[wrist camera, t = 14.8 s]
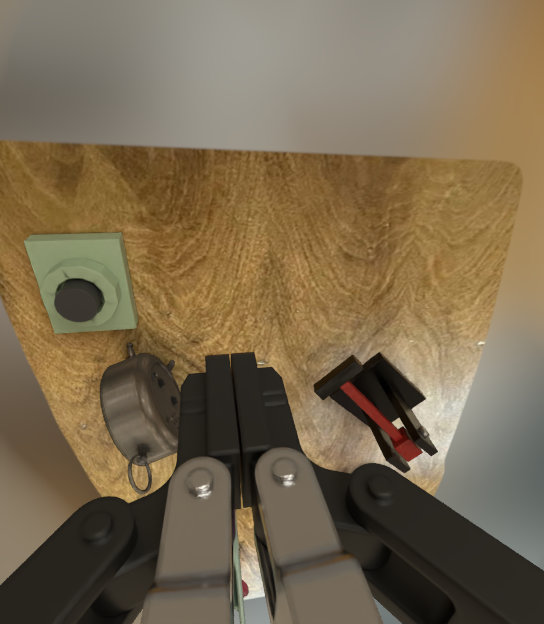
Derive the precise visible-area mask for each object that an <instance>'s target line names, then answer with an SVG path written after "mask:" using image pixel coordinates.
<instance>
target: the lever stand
mask: <svg viewBox="0 0 544 624" xmlns="http://www.w3.org/2000/svg"><path fill="white" fill-rule="evenodd" d="M362 366H363V369H364V370H362V371H361V372H360V373H358V374H357V375H356V376H354V377H353V378H352V379H351V380H349V381H350V382H351V383H352V384H353V385H354V386H355V387H356V388H357V389H358V390H359V391H360V392H361V393H362V394H363V395H364V396H365V397H366V398H367V399H368V400H369V401H370V402H371V403H372V404H373V405H374V406H375V407H376V408H377V409H378V410H379V411H380V412H381V413H382V414H383V415H384V416H385V417H386V418H387V419H388V420H389V421H390V422H391V423H392V422H393V421H395V420H396V419H397V418H400V419H401V421H402V423H403V424H404V426H405V428H406V430H407V431H408V433H409V435H410V436H411V438H412V440H413V442H414V443H415V444H417V445H418V446H419V447H420V448H422V449H423V450H424V451H425V452H427V453H428V454H429V455H430V456H432V455H434V454H436V453H437V452H438V451H437V449H436V448H435V446H434V445H433V443H432V442H431V440H430V438H429V437H428V436H429V433H428V432H427V430H426V429H425V428H424V427H423V426H421V424H420V423H419V421H418V419H417V418H416V416H415V415H414V413H413V411H412V410H411V409H412V408H413V407H415V406H416V405H418V404H419V403H421V402H422V401H424V400H425V399H426V398H425V396H424V395H423V393H422V392H421V391H420V390H419V389H418V388H417V387H415V386H414V385H413V384H412V383H411V382H410V381H409V380H408V379H407V378H406V377H405V376H404V375H403V374H402V373H401V372H400V371H399V370H398V369H397V368H396V367H395V366H394V365H392V364H391V363H390V362H389V361H388V360H387V359H386V358H385V357H384V356H383V355H382V354H381V353H380V352H379V353H378V354H377V355H375V356H374V357H373V358H371V359H370V360H369V361H367V362H366V363H365V364H364V365H362ZM330 398H332V399H333V400H334V401H336V402H337V403H338V404H340V405H341V406H342V407H344V408H345V409H346V410H348V411H349V412H350V413H352V414H353V415H354V416H356V417H357V418H358V419H360V420H361V421H362V422H364V423H365V424H366V425H368V426H369V427H370V428H371V430H372V432H373V435H374V437H375V439H376V441H377V443H378V445H379V447H380V449H381V451H382V453H383V456H384V457H385V459H386V461H387V462H389V463H390V464H392V465H393V466H395V467H396V468H397V469H399V470H400V471H402V472H403V473H406V472H407V471H409V470H410V467H409V465H408V463H407V461H406V460H405V459H404V458H403V457H402V456H401V455H400V454H399V453H398V452H397V451H396V450H395V449H394V447H393V444H392V442H391V439H390V437H389V435H388V434H387V433H386V432H385V431H384V430H383V429H382V428H381V427H380V426H379V425H378V424H377V423H376V422H375V421H374V420H373V419H372V418H371V417H370V416H369V415H368V414H367V413H366V412H365V411H364V410H363V409H362V408H360V407H359V406H358V405H357V404H356V403H355V402H354V401H353V400H352V399H351V398H350V397H349V396H348V395H347V394H346V393H345V392H344V391H343V390H342V389H341V388H339V389H337V390H336V391H335V392H333V393H332V394H331V395H330Z"/></svg>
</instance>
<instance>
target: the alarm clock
mask: <svg viewBox="0 0 544 624" xmlns="http://www.w3.org/2000/svg"><path fill="white" fill-rule="evenodd" d="M132 346H133V344H132V343H131V342H129V343H127V347H128V355H129V358H128V359H126V360H123V361H121V362H119V363H116V364H114V365H111V366H109V367H108V368H107V369H106V370H105V372H104V374H103V376H102V379H101V383H100V400H101V408H102V413H103V417H104V421H105V423H106V426H107V429H108V431H109V433H110V436H111V438H112V440H113V442H114V444H115V445H116V447H117V448H118V450H119V451H120V452H121V453H122V455H123V456H124V457H125V458H126V459H127V460H129V461H130V462H129V464H128V477H129V481H130V484H131V486H132V488H133V489H134V490H135V491H136V492H137V493H139V494H145V493H147V492H148V491H149V490H150V488H151V482H152V475H151V471H150V467H149V465H148V464H150V463H152V462H155V461H157V460H160V459H162V458H165V457H167V456H169V455H172V454H174V453H176V452H177V450H178V431H179V416H180V394H181V393H180V390H179V388H178V385H177V383H176V381H175V379H174V378H173V376H172V373H171V370H172V367H173V366H174V363H175V361H174V360H171V362H170V363H169V365H168V366H166V365H165V364H164V363H163V362H162V361H161V360H160V359H159V358H157V357H156V356H154V355H152V354H148V353H141V354H138V355H135V352H134V350H133V348H132ZM132 463H133V464H135V465H138V466H146V468H147V472H148V477H149V482H148V486H147V488H146V489H145V490H140V489H139V488H138V487H137V486H136V484H135V482H134V480H133V477H132Z"/></svg>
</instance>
